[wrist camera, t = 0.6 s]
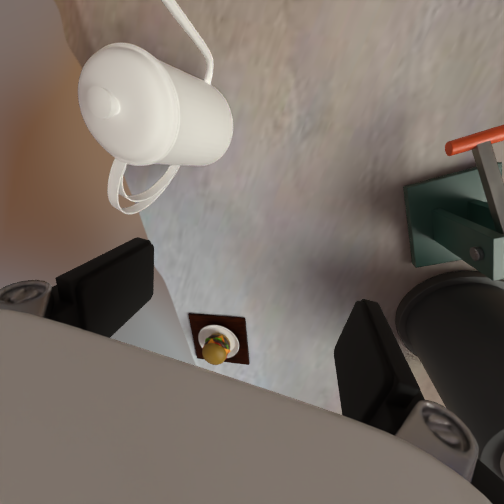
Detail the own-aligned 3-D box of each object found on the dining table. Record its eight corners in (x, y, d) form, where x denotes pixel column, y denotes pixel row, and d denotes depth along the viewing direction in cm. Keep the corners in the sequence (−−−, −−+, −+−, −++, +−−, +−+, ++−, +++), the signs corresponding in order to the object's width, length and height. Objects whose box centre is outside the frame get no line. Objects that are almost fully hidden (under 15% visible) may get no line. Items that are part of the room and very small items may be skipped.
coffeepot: (277, 45, 29) (238, -104, 12) (199, 213, 40) (121, 259, 23) (201, -4, 29) (53, -227, 12) (144, 179, 40) (23, 201, 23)
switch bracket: (403, 186, 32) (457, 205, 21) (493, 161, 29) (617, 168, 18) (412, 263, 36) (462, 316, 24) (493, 249, 33) (595, 302, 21)
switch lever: (441, 147, 25) (452, 136, 23) (501, 129, 24) (519, 115, 22) (475, 266, 24) (490, 267, 22) (540, 255, 23) (564, 255, 20)
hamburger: (189, 313, 49) (176, 331, 44) (245, 317, 46) (238, 337, 42) (198, 356, 54) (187, 377, 49) (249, 363, 51) (243, 385, 46)
